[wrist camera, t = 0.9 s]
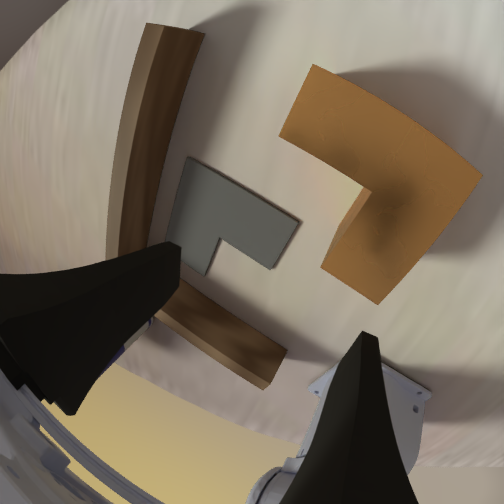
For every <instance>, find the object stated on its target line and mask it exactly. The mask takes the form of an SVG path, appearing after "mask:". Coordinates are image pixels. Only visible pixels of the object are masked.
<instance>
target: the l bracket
mask: <svg viewBox="0 0 504 504" xmlns="http://www.w3.org/2000/svg"><path fill="white" fill-rule="evenodd" d="M279 137H281V138H283V139H284V140H286V141H288V142H290V143H292V144H294V145H295V146H297V147H299V148H301V149H303V150H304V151H306V152H308V153H310V154H311V155H313V156H315V157H317V158H318V159H320V160H322V161H323V162H325V163H327V164H328V165H330V166H332V167H333V168H335V169H337V170H338V171H340V172H341V173H343V174H345V175H346V176H348V177H349V178H351V179H353V180H354V181H356V182H357V183H359V184H360V185H362V186H363V187H364V188H363V189H362V191H361V192H360V194H359V195H358V197H357V199H356V200H355V202H354V203H353V205H352V206H351V208H350V209H349V211H348V212H347V214H346V215H345V217H344V218H343V220H342V222H341V223H340V225H339V226H338V228H337V231H336V233H335V235H334V238H333V240H332V242H331V245H330V247H329V249H328V251H327V254H326V256H325V258H324V260H323V263H322V265H321V267H320V268H322V269H323V270H325V271H327V272H328V273H330V274H331V275H333V276H334V277H336V278H337V279H339V280H340V281H342V282H343V283H345V284H346V285H348V286H349V287H351V288H353V289H354V290H356V291H357V292H359V293H360V294H362V295H363V296H365V297H366V298H368V299H369V300H371V301H372V302H374V303H375V304H377V305H378V304H379V303H380V302H381V301H382V300H383V299H384V298H385V297H386V296H387V295H388V294H389V293H390V292H391V291H392V290H393V289H394V288H395V286H396V285H397V284H398V283H399V282H400V281H401V280H402V279H403V278H404V277H405V275H406V274H407V273H408V272H409V271H410V270H411V269H412V268H413V266H414V265H415V264H416V263H417V262H418V261H419V259H420V258H421V257H422V256H423V255H424V254H425V252H426V251H427V250H428V249H429V248H430V246H431V245H432V244H433V243H434V241H435V240H436V239H437V238H438V236H439V235H440V234H441V233H442V231H443V230H444V229H445V228H446V226H447V225H448V224H449V222H450V221H451V220H452V218H453V217H454V216H455V214H456V213H457V212H458V210H459V209H460V208H461V206H462V205H463V203H464V202H465V201H466V199H467V198H468V196H469V195H470V193H471V192H472V191H473V189H474V188H475V186H476V185H477V183H478V182H479V180H480V179H481V177H482V176H483V175H482V174H481V173H480V172H479V171H477V170H476V169H475V168H474V167H473V166H472V165H471V164H470V163H468V162H467V161H466V160H465V159H464V158H462V157H461V156H460V155H459V154H458V153H456V152H455V151H454V150H453V149H452V148H450V147H449V146H448V145H447V144H445V143H444V142H443V141H441V140H440V139H439V138H437V137H436V136H435V135H433V134H432V133H431V132H429V131H428V130H427V129H425V128H424V127H422V126H421V125H420V124H418V123H417V122H415V121H414V120H412V119H411V118H409V117H408V116H406V115H405V114H403V113H402V112H400V111H399V110H397V109H396V108H394V107H393V106H391V105H389V104H388V103H386V102H384V101H383V100H381V99H379V98H378V97H376V96H374V95H373V94H371V93H369V92H367V91H366V90H364V89H362V88H360V87H358V86H357V85H355V84H353V83H351V82H349V81H347V80H345V79H343V78H341V77H339V76H337V75H335V74H333V73H331V72H329V71H327V70H325V69H323V68H321V67H319V66H317V65H314V64H313V65H312V67H311V69H310V71H309V73H308V75H307V77H306V79H305V81H304V83H303V85H302V87H301V90H300V92H299V94H298V96H297V98H296V100H295V102H294V104H293V106H292V108H291V111H290V113H289V115H288V117H287V119H286V121H285V123H284V126H283V128H282V130H281V132H280V134H279Z"/></svg>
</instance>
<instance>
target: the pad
mask: <svg viewBox="0 0 504 504" xmlns="http://www.w3.org/2000/svg"><path fill="white" fill-rule="evenodd" d="M298 223H299V221H297V220H295V219H294V218H292V217H291V216H289V215H287V214H286V213H284V212H282V211H281V210H279V209H278V208H276V207H274V206H273V205H271V204H269V203H268V202H266V201H264V200H263V199H261V198H259V197H258V196H256V195H254V194H253V193H251V192H249V191H248V190H246V189H244V188H243V187H241V186H239V185H238V184H236V183H234V182H232V181H231V180H229V179H227V178H226V177H224V176H222V175H220V174H219V173H217V172H215V171H213V170H212V169H210V168H208V167H206V166H205V165H203V164H201V163H199V162H198V161H196V160H194V159H192V158H190V157H187V159H186V162H185V166H184V169H183V173H182V176H181V180H180V183H179V187H178V191H177V194H176V198H175V202H174V206H173V210H172V214H171V218H170V222H169V226H168V230H167V234H166V238H165V242H167V241H170V242H172V243H174V244H176V245H178V246H181V247H182V249H181V261H182V262H184V263H185V264H186V265H188V266H189V267H191V268H192V269H194V270H195V271H196V272H198V273H199V274H201V275H202V276H205V274H206V272H207V269H208V267H209V264H210V261H211V259H212V256H213V254H214V251H215V249H216V246H217V244H218V241H219V239H220V238H221V239H223V240H224V241H226V242H227V243H229V244H230V245H232V246H233V247H235V248H236V249H238V250H240V251H241V252H243V253H244V254H246V255H247V256H249V257H250V258H252V259H253V260H255V261H256V262H258V263H260V264H261V265H263V266H264V267H266V268H267V269H269V270H271V269H272V267H273V265H274V264H275V262H276V260H277V259H278V257H279V255H280V254H281V252H282V250H283V248H284V247H285V245H286V243H287V242H288V240H289V238H290V237H291V235H292V233H293V231H294V230H295V228H296V226H297V225H298Z"/></svg>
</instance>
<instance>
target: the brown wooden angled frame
mask: <svg viewBox="0 0 504 504" xmlns="http://www.w3.org/2000/svg"><path fill="white" fill-rule="evenodd" d="M204 35H205V34H204V33H200V32H196V31H192V30H188V29H183V28H178V27H172V26H166V25H159V24H152V23H146V25H145V28H144V31H143V35H142V38H141V41H140V44H139V47H138V51H137V54H136V57H135V61H134V65H133V68H132V72H131V76H130V80H129V84H128V88H127V92H126V96H125V101H124V105H123V110H122V115H121V120H120V125H119V131H118V136H117V142H116V148H115V155H114V162H113V169H112V177H111V186H110V195H109V206H108V218H107V235H106V260H109V259H113V258H116V257H120V256H123V255H126V254H129V253H132V252H135V251H138V250H141V249H144V248H146V246H147V240H148V235H149V229H150V224H151V219H152V214H153V209H154V204H155V199H156V195H157V190H158V186H159V181H160V177H161V173H162V169H163V165H164V161H165V157H166V153H167V149H168V145H169V141H170V138H171V134H172V130H173V127H174V123H175V120H176V116H177V113H178V110H179V106H180V103H181V100H182V97H183V94H184V91H185V88H186V84H187V81H188V78H189V76H190V73H191V70H192V67H193V64H194V61H195V58H196V56H197V53H198V50H199V48H200V45H201V42H202V40H203V37H204ZM154 316H155V317H157V318H158V319H159V320H160V321H162V322H163V323H164V324H166V325H167V326H168V327H170V328H171V329H172V330H174V331H175V332H176V333H178V334H179V335H180V336H182V337H183V338H185V339H186V340H187V341H189V342H190V343H192V344H193V345H194V346H196V347H197V348H199V349H200V350H201V351H203V352H204V353H206V354H207V355H209V356H210V357H212V358H213V359H215V360H216V361H218V362H219V363H221V364H222V365H224V366H225V367H227V368H228V369H230V370H231V371H233V372H234V373H236V374H237V375H239V376H241V377H242V378H244V379H245V380H247V381H249V382H250V383H252V384H253V385H255V386H257V387H258V388H260V389H262V390H264V389H265V388H266V387H268V386H269V385H270V384H271V382H272V380H273V378H274V376H275V374H276V372H277V370H278V368H279V367H280V365H281V363H282V361H283V359H284V357H285V355H286V353H287V351H288V350H287V349H285V348H283V347H282V346H280V345H279V344H277V343H275V342H274V341H272V340H271V339H269V338H267V337H266V336H264V335H263V334H261V333H260V332H258V331H257V330H255V329H254V328H252V327H250V326H249V325H247V324H246V323H244V322H243V321H241V320H240V319H238V318H237V317H235V316H234V315H232V314H231V313H229V312H228V311H226V310H225V309H223V308H222V307H221V306H219V305H218V304H216V303H215V302H213V301H212V300H210V299H209V298H207V297H206V296H205V295H203V294H202V293H200V292H199V291H197V290H196V289H195V288H193V287H192V286H190V285H189V284H187V283H186V282H185V281H183V280H182V279H181V278H180V284H179V287H178V289H177V290H176V291H175V293H174V294H173V295H172V296H171V298H170V299H169V300H168V301H167V303H166V304H165V305H164V306H163V307H162V308H161V309H160V310H159V311H158V312H157V313H156V314H155V315H154Z"/></svg>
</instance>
